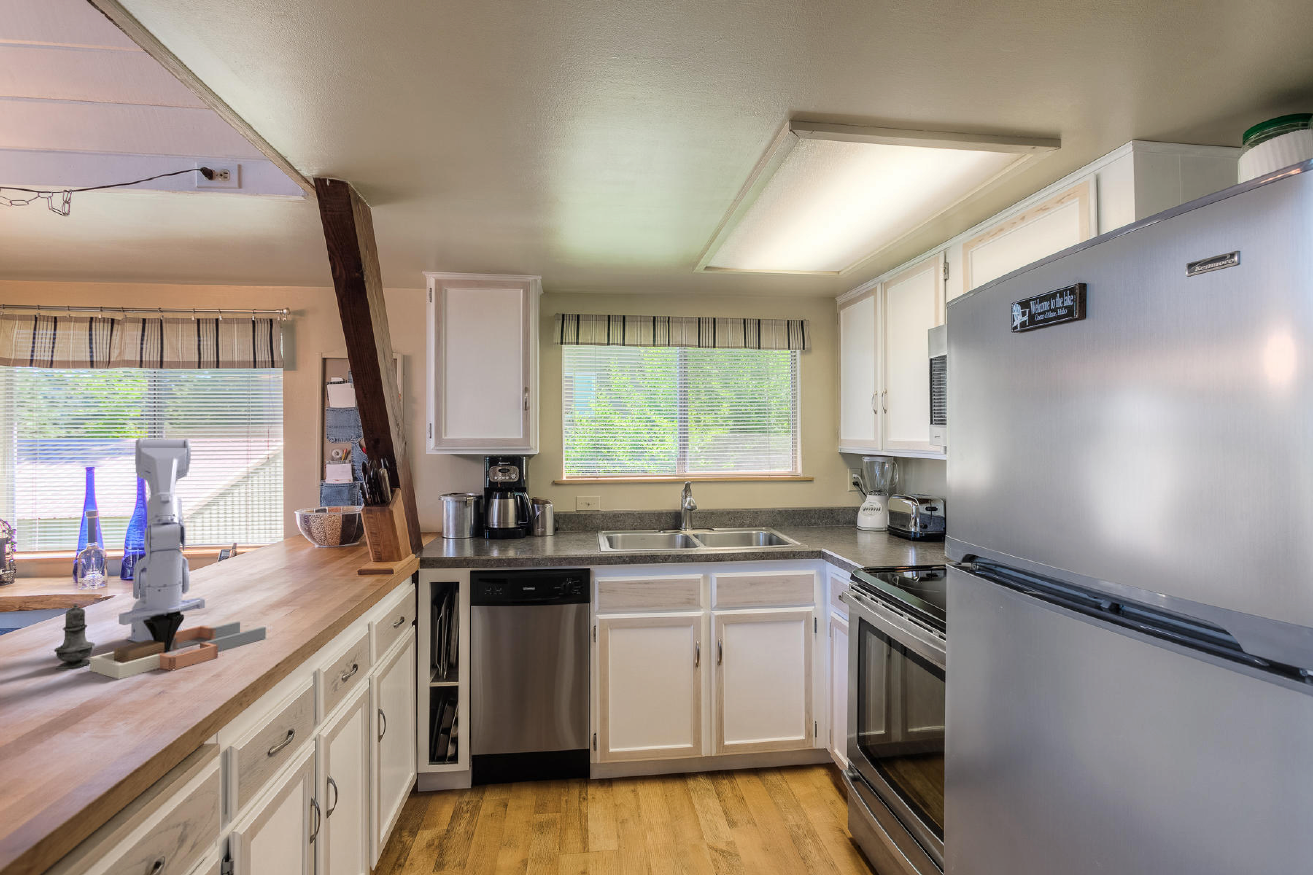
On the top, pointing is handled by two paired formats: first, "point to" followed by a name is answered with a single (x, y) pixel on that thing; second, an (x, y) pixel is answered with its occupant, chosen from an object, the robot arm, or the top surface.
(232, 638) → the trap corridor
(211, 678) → the top surface
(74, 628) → the salt shaker
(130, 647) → the walnut block
